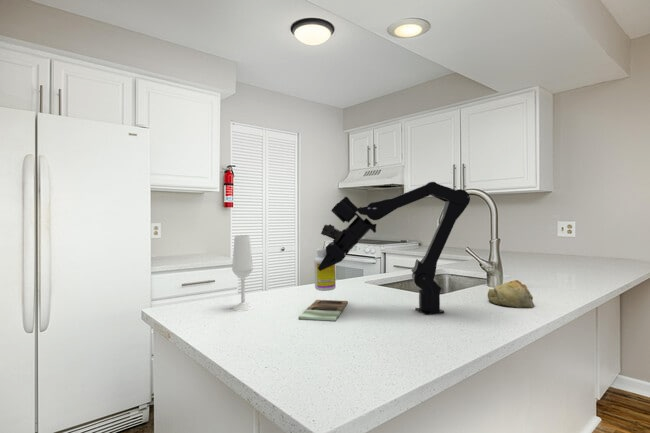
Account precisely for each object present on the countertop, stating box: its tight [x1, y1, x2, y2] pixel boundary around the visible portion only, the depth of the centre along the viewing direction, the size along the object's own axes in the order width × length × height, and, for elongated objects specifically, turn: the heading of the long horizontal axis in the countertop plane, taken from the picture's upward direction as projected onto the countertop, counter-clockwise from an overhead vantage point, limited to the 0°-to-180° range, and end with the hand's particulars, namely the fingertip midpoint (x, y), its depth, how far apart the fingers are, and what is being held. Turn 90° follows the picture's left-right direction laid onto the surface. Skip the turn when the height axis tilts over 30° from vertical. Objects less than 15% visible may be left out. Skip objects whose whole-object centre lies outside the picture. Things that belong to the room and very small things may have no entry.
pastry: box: [487, 279, 535, 309], centre depth 123 cm, size 14×12×8 cm
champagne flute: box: [231, 234, 254, 312], centre depth 122 cm, size 7×7×24 cm
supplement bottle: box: [313, 248, 336, 292], centre depth 119 cm, size 7×7×13 cm
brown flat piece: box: [298, 299, 349, 322], centre depth 117 cm, size 22×11×1 cm, turn 167°
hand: (320, 267), depth 119 cm, fingers closed on supplement bottle, 7 cm apart
